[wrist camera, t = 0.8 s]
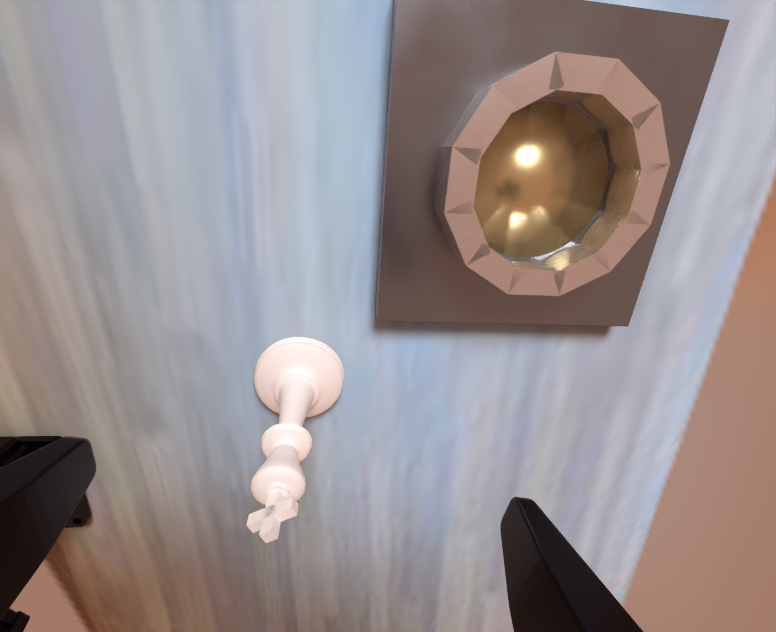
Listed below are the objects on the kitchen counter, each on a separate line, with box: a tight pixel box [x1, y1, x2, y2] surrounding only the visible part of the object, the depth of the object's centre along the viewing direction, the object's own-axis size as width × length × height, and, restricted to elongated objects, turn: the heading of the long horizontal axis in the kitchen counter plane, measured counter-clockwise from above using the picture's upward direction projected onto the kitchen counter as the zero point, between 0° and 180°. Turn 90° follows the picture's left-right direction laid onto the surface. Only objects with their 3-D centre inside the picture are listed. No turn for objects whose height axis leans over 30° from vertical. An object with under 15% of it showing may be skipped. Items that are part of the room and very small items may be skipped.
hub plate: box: [375, 0, 729, 326], centre depth 17 cm, size 14×14×3 cm
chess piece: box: [246, 337, 344, 543], centre depth 17 cm, size 5×5×10 cm
